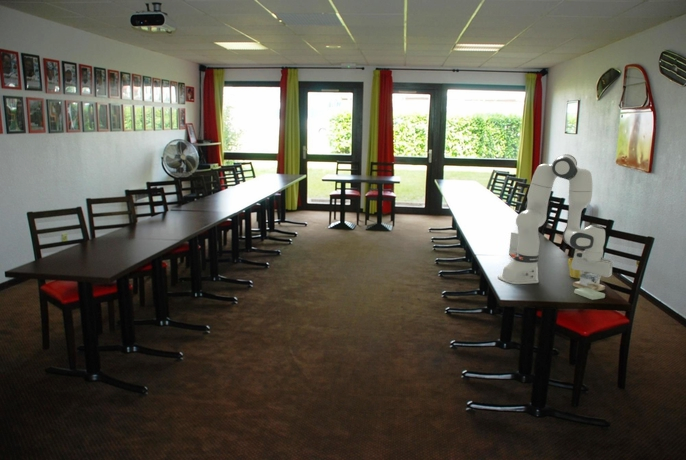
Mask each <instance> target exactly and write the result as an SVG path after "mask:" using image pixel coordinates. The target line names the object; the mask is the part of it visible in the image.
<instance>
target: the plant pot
mask: <svg viewBox="0 0 686 460" xmlns="http://www.w3.org/2000/svg"><path fill="white" fill-rule="evenodd" d="M573 258H574V257H570V258H568V259H567V260H568V261H567V265H568V268H569V276H570V278H574V279H580V277H581V274H580V271H579V270H575V269H572V267H571V264H572V260H573Z"/></svg>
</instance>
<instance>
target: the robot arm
mask: <svg viewBox="0 0 686 460" xmlns="http://www.w3.org/2000/svg"><path fill="white" fill-rule="evenodd" d="M556 178H560V179H564V180H567V181H569V183H568V184H569V185H568V186H569V187H568V211H567V221H566V226H565V228H564V231H563V233H562V240H563V242H564V243H565V244H566V245H569V246H570V247H571V248H573V249H575V250H579V251H576V252H575V253H574V257H572V258H573V260H572V264H571V267H572V269H575V270H579V271H580V274H585V273H586V274H588V273H592V274H596V275H597V277H598V278H597V279H594V283H598V280H599V279H600V280H601V277H604V278H610V277H612V275H613V266H614V262H613V260H611V259H609V258H604V246H605V242H606V229H604V227H602V226H599V225H596V224H589V226H587V227H584V228H582V229H581V217H582V211H583V210H584V209H585V208H586V207H587V206H590V204H591V201H592V197H593V176H592V172H591V171H590V170H589V169H586V168H580V167H578V162H577V159H576V158H575V157H574V156H573V155H571V154H562V155H559V156H558V157H556V158H555V159H554V161H553V162H552V163H551V164H550V163H542V164H539V165H538V166H537V167H536V169H535V170H534V173H533V175H532V179H531V182H530V185H529V188H528V192H527V196H526V198H527V204H526V208H525V210H522V211H521V212H520V213H519V214H518V215H517V216H516V218H515V224H516V226H517V231H518V248H517V252H516V254H511V255H510V257H511V258H513V259H512V261H510V262H509V263H508V264H507V265H505V266H504V268H503V271H502V274H500V275H497V279H498V280H501V281H503V282H505V283H509V284H513V285H525V284H526V285H528V284H539V276H538V275H539V273H538V272H539V267H538V262H539V256H540V255H539V250H540V249H539V248H540V243H541V241H540V238H539V228H540V227H542V226H544V224H545V222H546V220H547V216H548V215H547V213H548V206H549V199H550V197H551V193H552V190H553V187H554V183H555V181H556Z"/></svg>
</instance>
